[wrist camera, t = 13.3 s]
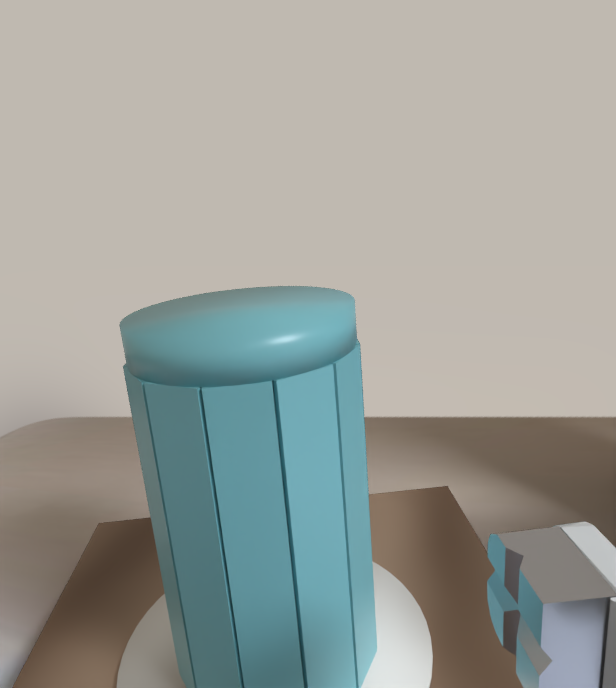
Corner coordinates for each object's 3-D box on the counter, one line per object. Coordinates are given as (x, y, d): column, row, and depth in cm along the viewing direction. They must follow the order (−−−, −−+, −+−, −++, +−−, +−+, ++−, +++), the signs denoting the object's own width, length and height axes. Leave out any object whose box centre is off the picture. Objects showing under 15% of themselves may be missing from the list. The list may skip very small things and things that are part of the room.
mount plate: (447, 510, 24) (446, 377, 22) (716, 996, 9) (771, 723, 8) (104, 547, 23) (75, 414, 22) (-172, 1127, 9) (-325, 862, 7)
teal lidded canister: (358, 566, 19) (339, 279, 16) (393, 717, 13) (373, 323, 11) (196, 584, 18) (149, 297, 16) (164, 745, 13) (85, 350, 10)
